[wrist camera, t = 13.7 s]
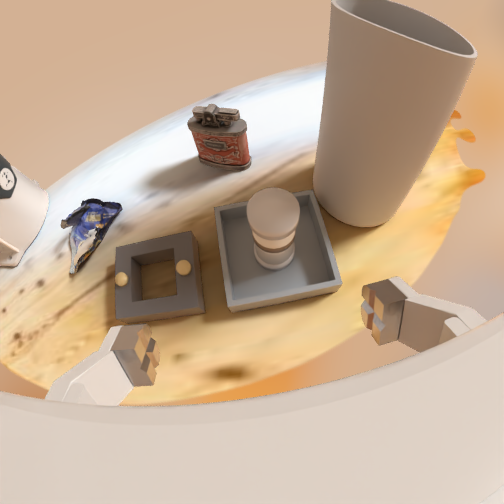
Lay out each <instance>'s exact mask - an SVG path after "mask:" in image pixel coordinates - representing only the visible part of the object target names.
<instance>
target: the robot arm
mask: <svg viewBox="0 0 504 504" xmlns="http://www.w3.org/2000/svg"><path fill="white" fill-rule="evenodd" d="M48 205H49V198H48V194H47V192H46V191H45V190H44V189H42V188H40V187H39V184H38V182H37V181H35V180H32V181H31V180H30V179H29V178H28V177H26V176H25V175H24V174H23V173H21V172H20V171H19V170H18V169H16V168H15V167H14V166H10V163H9V162H8V161H7V160H6V159H5V157H4V156H2V155H1V154H0V266H17V265H18V263H19V262H20V260H21V258H22V256H23V254H24V252H25V250H26V249H27V248H28V247H29V245H30V244H31V243H32V242H33V240H34V239H35V237H36V236H37V234H38V233H39V231H40V229H41V227H42V225H43V223H44V220H45V217H46V214H47V211H48ZM362 296H363V298H364V299H365V300H364V302H363V303H362V305H361V315H362V320H363V322H364V325H365V326H366V328H368V329H370V330H372V337H373V338H374V339H375V341H376V342H377V344H378V345H383V344H386V343H390V342H393V341H396V340H398V341H399V342H401V343H403V344H405V345H407V346H409V347H410V348H412V349H414V350H416V351H418V352H420V353H418V354H415V355H413V356H410V357H407V358H405V359H402V360H399V361H396V362H394V363H391V364H388V365H385V366H382V367H379V368H376V369H373V370H370V371H367V372H363V373H360V374H357V375H353V376H349V377H346V378H342V379H339V380H335V381H331V382H327V383H323V384H319V385H315V386H310V387H307V388H302V389H297V390H292V391H287V392H282V393H277V394H271V395H265V396H259V397H253V398H246V399H239V400H232V401H223V402H213V403H203V404H192V405H173V406H118V405H119V404H120V403H121V402H122V400H123V399H124V398H125V397H126V396H127V395H128V394H129V392H130V391H131V390H132V389H133V388H134V387H135V386H151V385H154V381H155V377H156V371H155V368H156V367H157V366H158V365H159V361H160V352H159V348H158V345H157V343H156V341H155V340H153V339H152V338H151V334H152V331H151V329H150V327H149V325H148V324H146V323H145V324H134V325H124V326H123V325H121V326H113V327H111V328H110V330H109V332H108V334H107V335H106V337H105V339H104V341H103V343H102V345H101V347H100V349H99V351H98V352H94V353H92V354H91V355H90V356H88V357H87V358H85V359H84V360H83V361H81V362H80V363H79V364H77V365H76V366H74V367H73V368H72V369H70V370H69V371H67V372H66V373H65V374H63V375H62V376H61V377H59V378H58V379H56V380H55V381H54V382H53V384H52V386H51V388H50V390H49V391H48V393H47V395H46V397H45V399H39V398H33V397H27V396H22V395H17V394H12V393H7V392H3V391H0V504H504V312H503V313H501V314H500V315H498V316H496V317H494V318H492V319H491V320H489V321H486V320H485V319H484V318H483V317H482V316H480V315H479V314H478V313H477V312H476V311H475V310H474V309H473V308H470V307H467V306H463V305H460V304H456V303H453V302H449V301H445V300H442V299H438V298H435V297H431V296H428V295H424V294H421V295H419V294H418V293H417V292H416V291H414V290H413V289H412V288H411V287H410V286H409V285H408V284H407V283H406V282H405V281H403V280H402V279H401V278H400V277H397V276H396V277H393V278H389V279H386V280H383V281H379V282H375V283H372V284H368V285H364V286H363V288H362Z"/></svg>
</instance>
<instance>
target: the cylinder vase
mask: <svg viewBox="0 0 504 504" xmlns="http://www.w3.org/2000/svg"><path fill="white" fill-rule="evenodd" d="M476 58H477V51H476V49H475V48H474V46H473V45H472V44H471V43H470V42H469V41H468V40H467V39H466V38H465V37H463V36H462V35H461V34H460V33H458V32H457V31H455V30H454V29H452V28H451V27H449V26H448V25H446V24H445V23H443V22H441V21H439V20H438V19H436V18H434V17H432V16H430V15H428V14H425V13H423V12H421V11H418V10H416V9H414V8H411V7H408V6H405V5H403V4H400V3H396V2H392V1H389V0H331V17H330V32H329V46H328V57H327V68H326V78H325V88H324V97H323V106H322V114H321V122H320V130H319V138H318V146H317V153H316V160H315V167H314V173H313V188H314V192H315V195H316V197H317V199H318V201H319V202H320V204H321V205H322V206H323V208H324V209H325V210H326V211H327V212H328V213H329V214H331V215H332V216H333V217H335V218H336V219H338V220H340V221H342V222H344V223H346V224H349V225H353V226H357V227H373V226H378V225H381V224H383V223H385V222H387V221H388V220H389V219H391V218H392V217H393V216H394V214H395V213H396V212H397V210H398V208H399V207H400V205H401V204H402V202H403V201H404V199H405V197H406V196H407V194H408V193H409V191H410V189H411V188H412V186H413V184H414V183H415V181H416V179H417V178H418V176H419V174H420V173H421V171H422V169H423V167H424V166H425V164H426V162H427V160H428V159H429V157H430V155H431V153H432V151H433V150H434V148H435V146H436V144H437V142H438V140H439V138H440V136H441V135H442V133H443V131H444V129H445V127H446V125H447V123H448V121H449V119H450V117H451V115H452V113H453V111H454V109H455V106H456V104H457V102H458V100H459V98H460V96H461V93H462V91H463V89H464V87H465V84H466V82H467V80H468V77H469V75H470V73H471V70H472V68H473V65H474V63H475V60H476Z"/></svg>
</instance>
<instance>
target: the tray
mask: <svg viewBox="0 0 504 504" xmlns="http://www.w3.org/2000/svg"><path fill="white" fill-rule="evenodd" d="M291 194H293V195H294V196H295V198H296V199H297V201H298V203H299V206H300V214H299V222H298V225H297V228H296V233H295V239H294V244H295V252H294V258H293V260H292V262H291V264H290V265H289V266H288V267H286V268H285V269H283V270H280V271H269V270H266V269H264V268H263V267H261V266H260V265H259V264H258V262H257V261H256V258H255V254H254V240H253V235H252V229H251V228H250V226H249V222H248V217H247V204H248V202H249V201H244V202H239V203H234V204H229V205H224V206H219V207H214V211H215V219H216V227H217V235H218V242H219V250H220V257H221V264H222V271H223V278H224V285H225V292H226V299H227V305H228V308H229V309H230V311H231V312H232V313H233V312H239V311H245V310H250V309H256V308H261V307H266V306H271V305H277V304H282V303H287V302H291V301H296V300H301V299H306V298H310V297H315V296H320V295H324V294H328V293H333V292H337V291H338V289H339V288H340V287H341V285H342V281H341V277H340V273H339V270H338V266H337V263H336V260H335V256H334V253H333V250H332V246H331V243H330V240H329V237H328V233H327V230H326V227H325V224H324V221H323V218H322V215H321V212H320V209H319V206H318V203H317V200H316V197H315V194H314V191H313V190H307V191H301V192H295V193H291Z"/></svg>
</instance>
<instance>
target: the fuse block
mask: <svg viewBox="0 0 504 504" xmlns="http://www.w3.org/2000/svg"><path fill="white" fill-rule="evenodd" d="M172 259H175V274H176V286H177V295H173V296H167V297H161V298H155V299H149V300H143V301H142V280H141V266H142V265H147V264H152V263H157V262H162V261H167V260H172ZM115 307H116V319H117V320H120V321H122V322H125V323H127V324H130V323H138V322H146V321H154V320H161V319H168V318H175V317H182V316H188V315H195V314H201V313H205V305H204V297H203V289H202V280H201V271H200V262H199V252H198V242H197V240H196V238H195V237H194V235H193V233H192V232H191V231H188V232H183V233H178V234H174V235H169V236H165V237H160V238H155V239H151V240H146V241H142V242H138V243H133V244H129V245H125V246H120V247H116V261H115Z"/></svg>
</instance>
